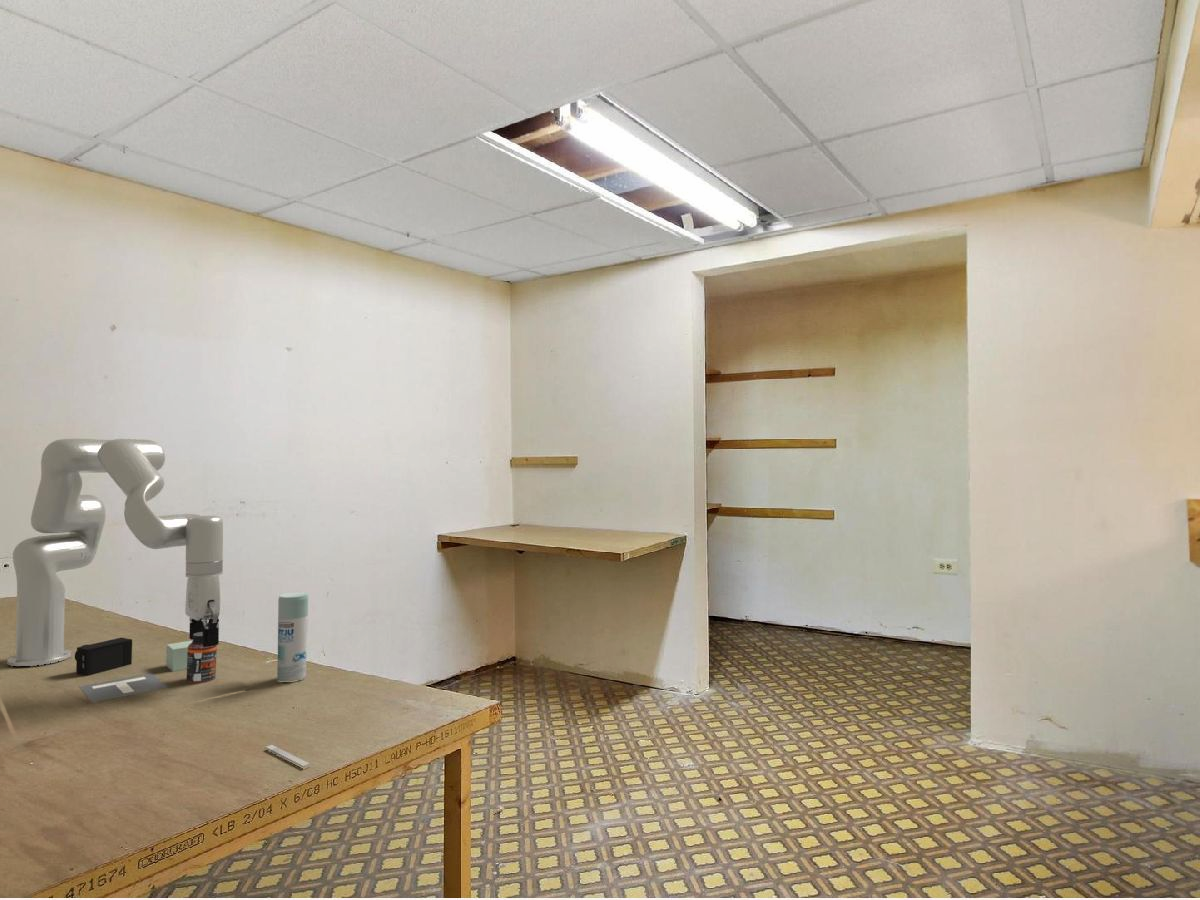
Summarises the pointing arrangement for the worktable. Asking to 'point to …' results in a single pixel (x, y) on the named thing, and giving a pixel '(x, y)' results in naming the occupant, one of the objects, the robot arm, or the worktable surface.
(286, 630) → the spray paint can
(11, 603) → the worktable surface
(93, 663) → the digital camera
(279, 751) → the light grey rod
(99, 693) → the board
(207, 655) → the supplement bottle
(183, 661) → the sage block
